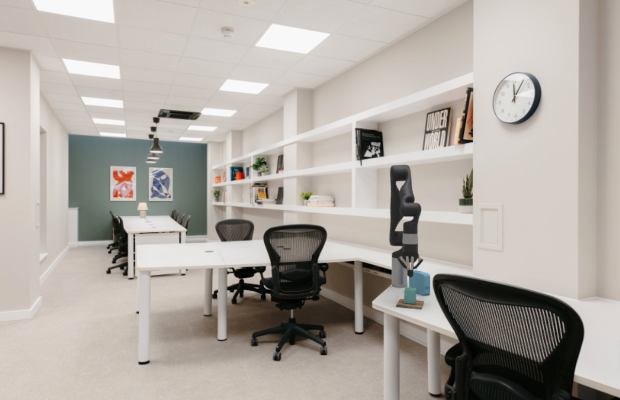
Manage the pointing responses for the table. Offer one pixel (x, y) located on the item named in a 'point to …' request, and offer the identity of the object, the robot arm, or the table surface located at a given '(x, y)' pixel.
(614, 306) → the table surface
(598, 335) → the table surface
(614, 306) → the table surface
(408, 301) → the teal rectangular block
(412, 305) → the post board
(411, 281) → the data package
